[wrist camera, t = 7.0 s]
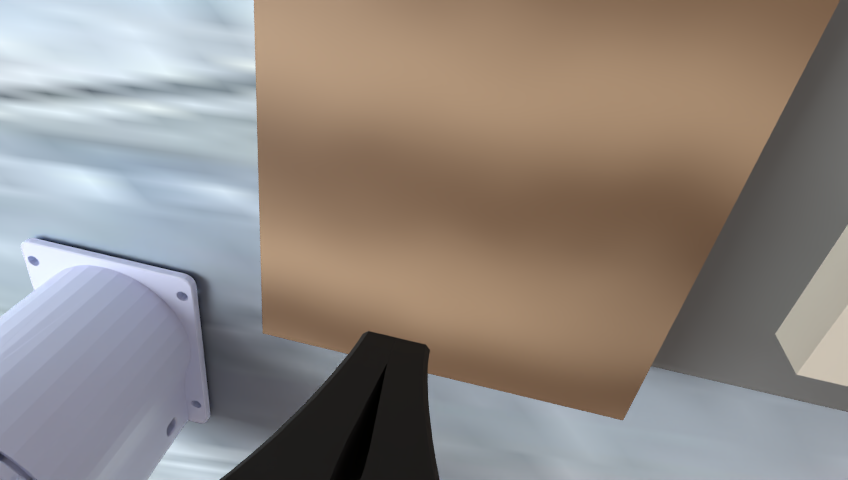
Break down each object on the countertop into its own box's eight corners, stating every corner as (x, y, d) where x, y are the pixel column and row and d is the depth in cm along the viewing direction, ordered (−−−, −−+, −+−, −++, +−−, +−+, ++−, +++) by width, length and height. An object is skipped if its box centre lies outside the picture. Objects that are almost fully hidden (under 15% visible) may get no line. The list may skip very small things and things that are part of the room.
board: (612, 350, 22) (622, 420, 19) (298, 277, 23) (262, 333, 20) (789, -40, 14) (852, -23, 11) (307, -123, 15) (250, -127, 12)
